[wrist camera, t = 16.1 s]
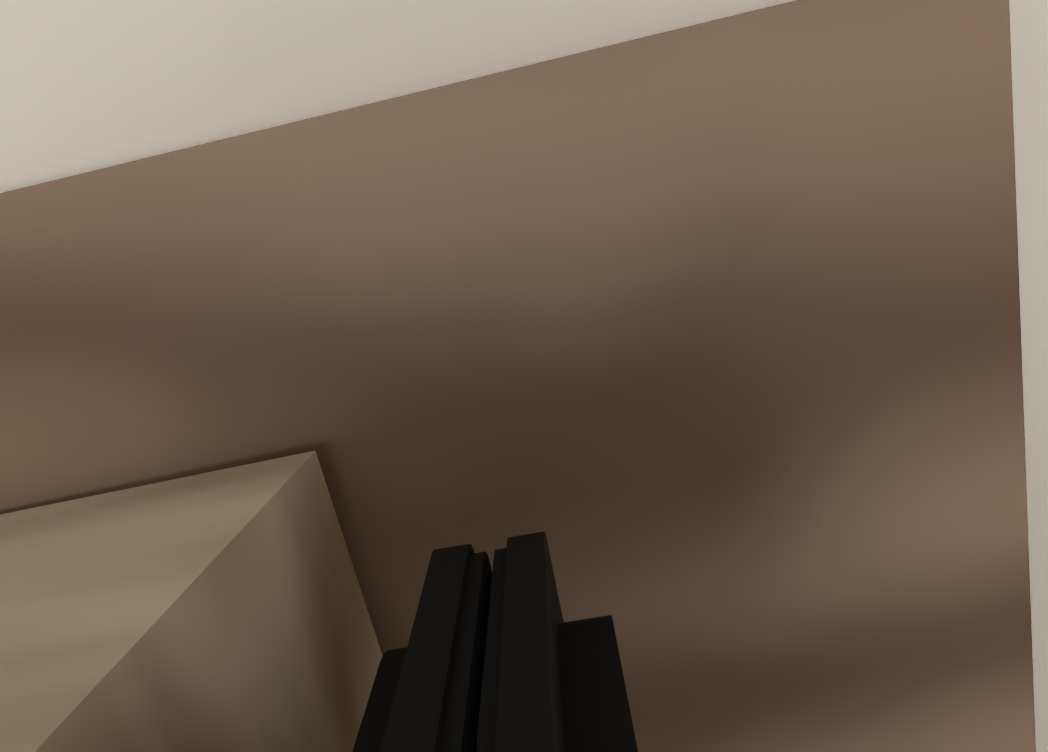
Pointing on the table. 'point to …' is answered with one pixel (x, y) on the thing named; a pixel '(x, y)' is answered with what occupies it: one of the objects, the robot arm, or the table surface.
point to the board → (603, 356)
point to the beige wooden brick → (185, 618)
